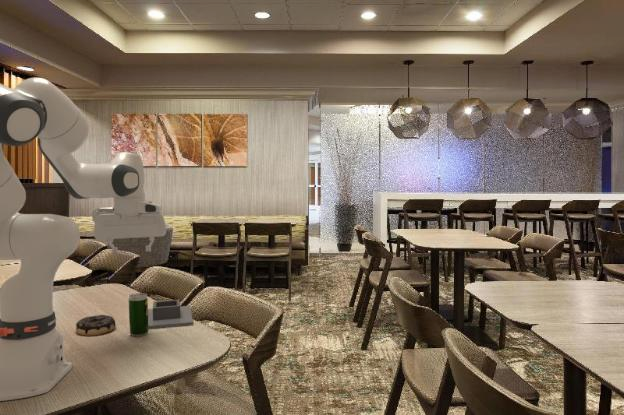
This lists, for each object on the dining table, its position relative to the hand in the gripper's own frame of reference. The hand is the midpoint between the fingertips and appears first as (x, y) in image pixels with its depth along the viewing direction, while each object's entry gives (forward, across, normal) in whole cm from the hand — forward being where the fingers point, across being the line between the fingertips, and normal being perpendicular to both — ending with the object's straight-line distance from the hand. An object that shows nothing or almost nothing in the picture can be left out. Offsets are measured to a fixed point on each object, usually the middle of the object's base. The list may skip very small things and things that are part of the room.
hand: (131, 252), depth 145 cm
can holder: (+25, +9, +13) cm, 30 cm away
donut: (+25, -12, +7) cm, 29 cm away
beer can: (+25, +1, -1) cm, 25 cm away
